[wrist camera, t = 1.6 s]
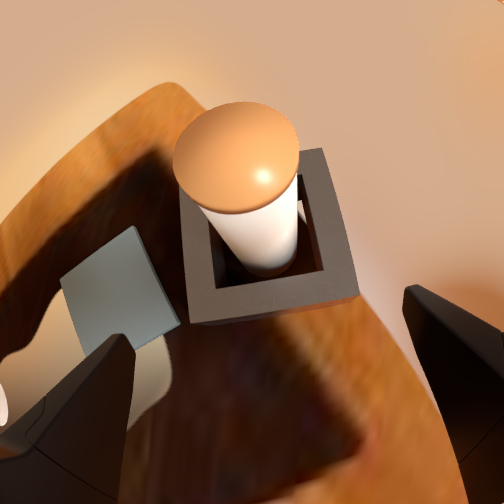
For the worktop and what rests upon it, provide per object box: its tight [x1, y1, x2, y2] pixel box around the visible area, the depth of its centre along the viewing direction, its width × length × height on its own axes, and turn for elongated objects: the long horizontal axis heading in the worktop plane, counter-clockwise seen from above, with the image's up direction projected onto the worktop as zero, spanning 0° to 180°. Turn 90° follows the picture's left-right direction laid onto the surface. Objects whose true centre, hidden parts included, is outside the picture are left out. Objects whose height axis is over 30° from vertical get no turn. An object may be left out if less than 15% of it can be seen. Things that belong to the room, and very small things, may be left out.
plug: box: [173, 102, 299, 277], centre depth 16 cm, size 5×5×12 cm
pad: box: [60, 226, 181, 357], centre depth 23 cm, size 9×9×1 cm
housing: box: [179, 148, 360, 326], centre depth 20 cm, size 10×10×4 cm
